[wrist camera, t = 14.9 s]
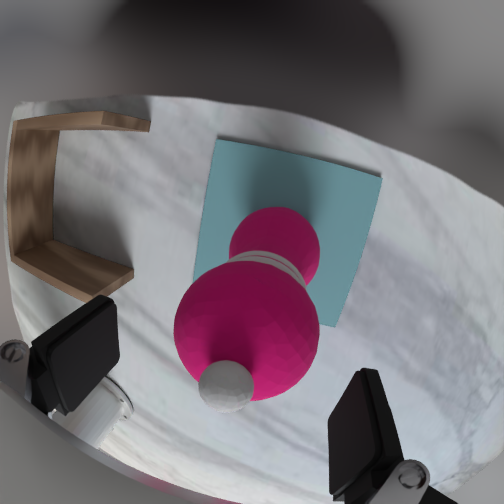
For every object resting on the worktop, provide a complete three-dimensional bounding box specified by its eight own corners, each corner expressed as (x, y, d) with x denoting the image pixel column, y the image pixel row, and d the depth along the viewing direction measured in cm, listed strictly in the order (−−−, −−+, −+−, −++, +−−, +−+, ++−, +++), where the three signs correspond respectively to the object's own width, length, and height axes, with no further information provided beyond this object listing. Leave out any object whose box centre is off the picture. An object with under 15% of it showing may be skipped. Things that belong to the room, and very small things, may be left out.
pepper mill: (227, 231, 27) (84, 357, 8) (286, 185, 24) (229, 237, 6) (272, 288, 27) (216, 471, 9) (332, 247, 25) (382, 424, 6)
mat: (334, 325, 28) (335, 327, 28) (193, 288, 30) (191, 290, 29) (381, 178, 23) (382, 178, 22) (217, 139, 25) (216, 139, 24)
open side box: (133, 278, 31) (93, 306, 24) (49, 245, 33) (11, 261, 25) (150, 121, 25) (103, 110, 18) (56, 122, 27) (13, 120, 20)
